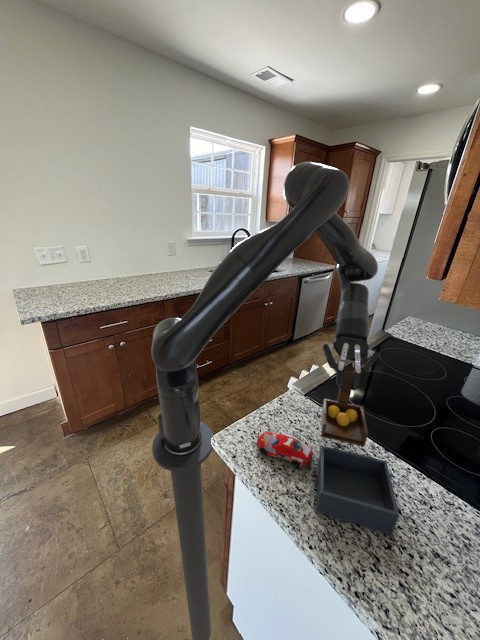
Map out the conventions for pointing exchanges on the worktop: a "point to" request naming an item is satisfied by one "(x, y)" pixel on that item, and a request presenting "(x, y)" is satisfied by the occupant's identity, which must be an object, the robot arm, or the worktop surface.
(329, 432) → the scoop
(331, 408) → the ball
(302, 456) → the race car
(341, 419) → the ball
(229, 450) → the worktop surface
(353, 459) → the bin
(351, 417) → the ball
